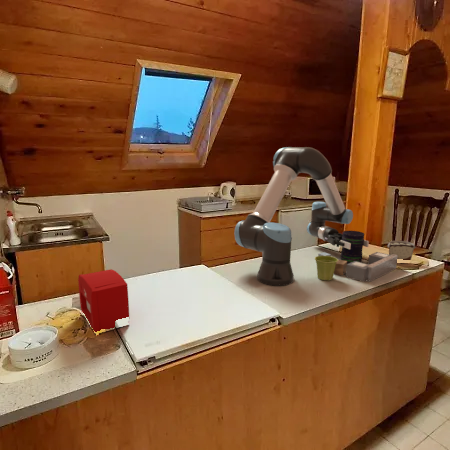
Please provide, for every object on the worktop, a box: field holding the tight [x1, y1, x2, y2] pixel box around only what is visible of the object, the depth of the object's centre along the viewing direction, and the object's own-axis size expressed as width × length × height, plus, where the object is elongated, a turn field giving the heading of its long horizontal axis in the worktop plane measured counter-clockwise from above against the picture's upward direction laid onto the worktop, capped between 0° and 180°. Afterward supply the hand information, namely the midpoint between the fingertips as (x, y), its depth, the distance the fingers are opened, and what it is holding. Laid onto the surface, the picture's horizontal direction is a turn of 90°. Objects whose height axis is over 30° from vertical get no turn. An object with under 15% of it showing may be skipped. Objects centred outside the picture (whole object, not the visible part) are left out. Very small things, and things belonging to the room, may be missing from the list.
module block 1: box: [345, 261, 368, 282], centre depth 147 cm, size 8×7×6 cm
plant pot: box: [314, 255, 339, 281], centre depth 146 cm, size 9×9×9 cm
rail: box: [365, 254, 398, 283], centre depth 151 cm, size 2×25×6 cm, turn 131°
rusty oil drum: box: [340, 230, 365, 264], centre depth 165 cm, size 10×10×15 cm
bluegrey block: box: [317, 251, 332, 257], centre depth 161 cm, size 4×4×6 cm
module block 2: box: [367, 251, 390, 265], centre depth 161 cm, size 8×8×6 cm
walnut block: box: [333, 259, 347, 276], centre depth 153 cm, size 5×6×5 cm
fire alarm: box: [77, 268, 130, 332], centre depth 108 cm, size 16×11×15 cm
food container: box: [387, 240, 416, 261], centre depth 167 cm, size 12×6×10 cm, turn 84°
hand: (359, 245), depth 160 cm, fingers closed on rusty oil drum, 10 cm apart
